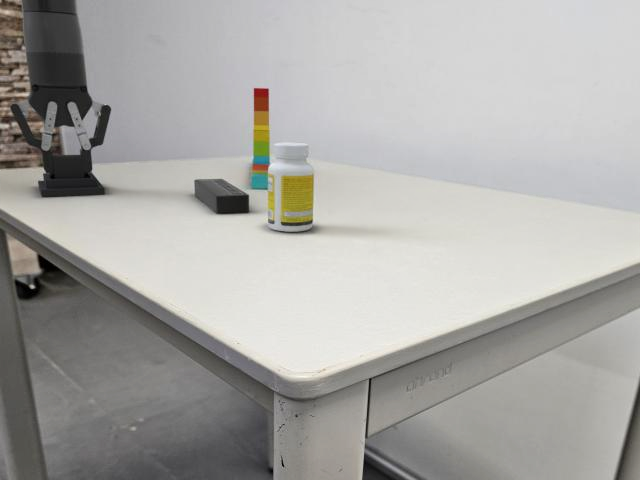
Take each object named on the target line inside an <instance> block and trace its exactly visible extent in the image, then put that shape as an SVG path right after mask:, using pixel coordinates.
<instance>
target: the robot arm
mask: <svg viewBox="0 0 640 480" xmlns="http://www.w3.org/2000/svg"><path fill="white" fill-rule="evenodd" d="M20 2H21V9H22V33H23V45H24V49H25V50H24V51H25V57H26V65H27V72H28V80H29V86H30V87H29V88H30V90H29V94H28V96H27V99H25V100H22V101H19V102H12V103H10V105H9V109H10V111H11V114H12V115H13V117H14V118H15V121H16V123H17V125H18V128H19V129H20V131H21V133H22V136H23V137H24V139H25V142H26V143H27V145H28V146H30V147H33V148H37V149H39V150H40V151H41V159H42V166H43V170H44V173H49V174H50V177H55V172H54V164H53V155H54V153H53V150H52V148H51V145H52V141H53V134H54V129H55V128H59V127H63V126H65V127H69V128H73V129H74V131H75V134H76V136H77V139H78V141H79V144H80V149H79V155H80V156H81V157H82V158H83V165H84V175H85V176H89V175H88V172H92V173H93V159H92V149H93V148H96V147H101V146H102V145H103V144H104V141H105V138H106V132H107V130H108V125H109V121H110V117H111V113H112V107H111V106H110V105H109V104H107V103H100V102H98V101H94V100H93V98H92V96H91V95H90V93H89V90H88V80H87V71H86V70H87V69H86V59H85V49H84V42H83V41H84V40H83V33H82V32H83V31H82V29H81V24H80V18H79V9H78V0H21V1H20ZM30 108H32V109H33V110H34V111H35V113H36V114H37V115H38V116H39V117H40V118H41V119H42V121H43V124H42V131H41V138H38V137H35V136H34V133H33V131H32V130H31V128H30V126H29V123H28V121H27V119H26V118H28V117H29V115H30V112H29V109H30ZM91 108H92V110H93V115H94V117H96V118H97V120H96V124H95V128H94V133H93V136H92V137H88V134H87V130H86V128H85V124H84V122H83V121H84V119H85V118H86V116H87V114H88V113H89V111H90V109H91Z"/></svg>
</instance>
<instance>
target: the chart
mask: <svg viewBox="0 0 640 480" xmlns="http://www.w3.org/2000/svg"><path fill="white" fill-rule="evenodd" d="M270 137H271V135H270V88H269V87H268V88H266V87H265V88H264V87H262V88H261V87H253V137H252V138H253V140H252V141H253V142H252V143H253V147H252V148H253V150H252V151H253V158H252V159H251V160H252V161H251V168H250V176H249V184H250V185H251V186H250V187H251V189H258V190H259V189H261V190H262V189H264V190H268V167H269V165H270V164H271V161H270V157H271V156H270V155H271V154H270V151H271V150H270V144H271V143H270Z"/></svg>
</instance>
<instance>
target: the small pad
mask: <svg viewBox="0 0 640 480" xmlns="http://www.w3.org/2000/svg"><path fill="white" fill-rule="evenodd" d="M53 164H54V172H55V179H75V178H85V175H84V165H83V158H82V157H81V156H80V154H53Z"/></svg>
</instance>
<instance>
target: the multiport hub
mask: <svg viewBox="0 0 640 480" xmlns="http://www.w3.org/2000/svg"><path fill="white" fill-rule="evenodd" d="M193 183H194V184H193V185H194V186H193V187H194V197H196V198H197V199H198V200H200V201H201V202H202V203H204V205H206V206H207V207H208V208H210V209H211V210H212V211H213V212H214V213H215V214H220V215H222V214H224V215H225V214H243V213H250V194H248V193H246V192H245V191H244V190H241V189H240V188H239V187H237V186H235V185H233V184H232V183H230V182H229V181H227V180H225V179H223V178H204V179H203V178H202V179H201V178H199V179H198V178H197V179H194V180H193Z"/></svg>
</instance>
